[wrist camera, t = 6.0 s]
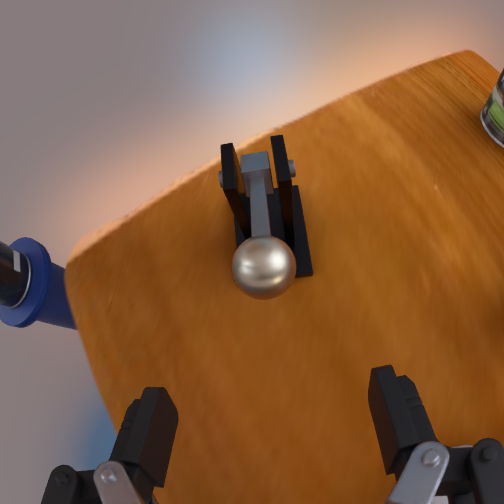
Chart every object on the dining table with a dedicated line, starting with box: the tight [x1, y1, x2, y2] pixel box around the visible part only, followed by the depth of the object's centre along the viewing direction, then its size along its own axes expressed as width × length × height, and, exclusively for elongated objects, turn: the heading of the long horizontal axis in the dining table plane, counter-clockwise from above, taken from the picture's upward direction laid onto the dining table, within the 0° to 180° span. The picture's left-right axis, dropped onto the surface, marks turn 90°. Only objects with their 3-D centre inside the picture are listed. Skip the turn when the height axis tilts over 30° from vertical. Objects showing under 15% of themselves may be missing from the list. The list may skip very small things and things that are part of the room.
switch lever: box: [231, 151, 296, 300], centre depth 21 cm, size 13×4×4 cm, turn 5°
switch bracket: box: [218, 135, 313, 278], centre depth 30 cm, size 11×8×15 cm
